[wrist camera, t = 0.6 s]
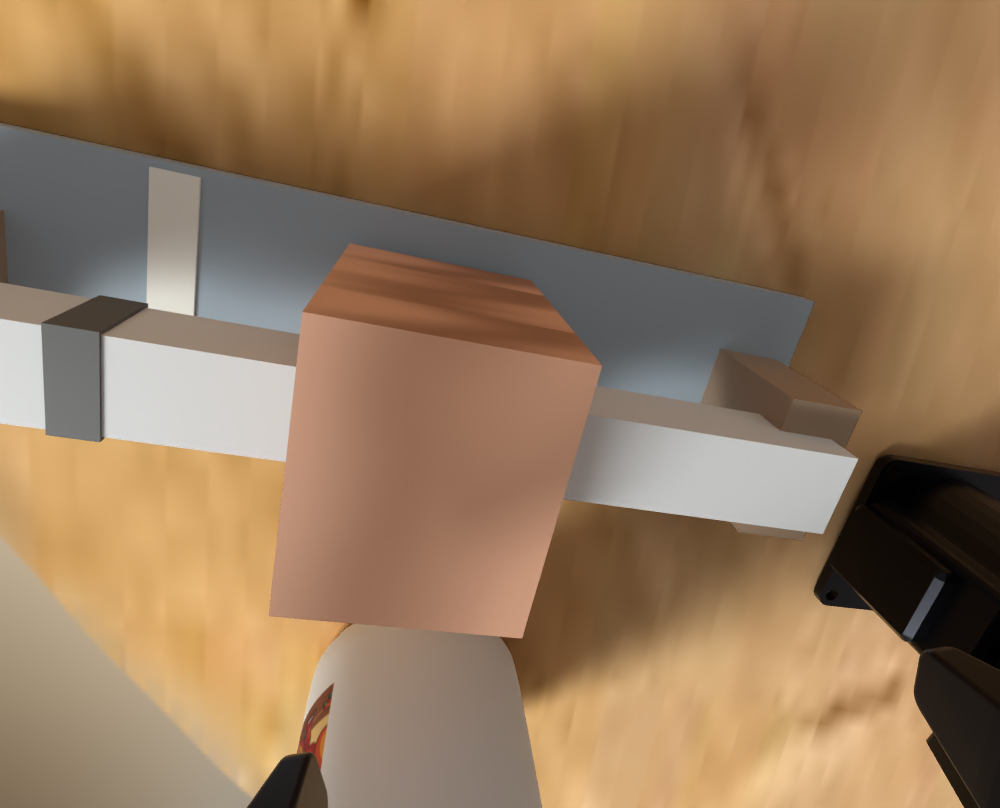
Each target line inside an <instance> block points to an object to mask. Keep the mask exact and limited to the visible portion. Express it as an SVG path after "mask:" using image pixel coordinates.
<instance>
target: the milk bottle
mask: <svg viewBox="0 0 1000 808" xmlns="http://www.w3.org/2000/svg"><path fill="white" fill-rule="evenodd" d="M303 752H312V753H313V754H314V755H315V757H316V759H317V762H318V765H319V768H320V771H321V774H322V777H323V780H324V783H325V786H326V790H327V795H328V808H542V804H541V798H540V793H539V788H538V782H537V777H536V771H535V766H534V761H533V755H532V750H531V744H530V739H529V734H528V728H527V723H526V718H525V712H524V707H523V702H522V697H521V691H520V686H519V682H518V678H517V673H516V669H515V665H514V661H513V658H512V655H511V653H510V651H509V649H508V648H507V646H506V644H505V643H504V642H503V640H502V639H501V638H500V637H499V636H488V635H476V634H465V633H454V632H442V631H431V630H420V629H408V628H397V627H386V626H375V625H363V624H352V625H350V626H349V627H347V628H346V629H344V630H343V631H342V633H341V634H340V635H339V636H338V637H337V638H336V639H335V640H334V641H333V642H332V643H331V644H330V645H329V647H328V648H327V649H326V650H325V652H324V653H323V655H322V656H321V658H320V660H319V662H318V664H317V667H316V669H315V673H314V677H313V681H312V685H311V689H310V693H309V697H308V701H307V706H306V711H305V716H304V721H303V726H302V731H301V736H300V741H299V746H298V751H297V753H303Z"/></svg>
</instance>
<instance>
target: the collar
mask: <svg viewBox="0 0 1000 808" xmlns="http://www.w3.org/2000/svg"><path fill="white" fill-rule="evenodd" d="M601 369H602V365H601V364H600V362H599V361H598V360H597V359H596V358H595V356H594V355H593V354H592V353H591V352H590V350H589V349H588V348H587V347H586V346H585V344H584V343H583V342H582V341H581V340H580V338H579V337H578V336H577V335H576V334H575V332H574V331H573V330H572V329H571V328H570V326H569V325H568V324H567V323H566V322H565V320H564V319H563V318H562V317H561V316H560V314H559V313H558V312H557V311H556V310H555V308H554V307H553V306H552V305H551V304H550V302H549V301H548V300H547V299H546V298H545V296H544V295H543V294H542V293H541V291H540V290H539V289H538V288H537V287H536V285H535V284H534V283H533V282H532V281H531V280H528V279H523V278H518V277H514V276H509V275H504V274H499V273H494V272H489V271H484V270H479V269H474V268H469V267H464V266H459V265H455V264H450V263H445V262H440V261H435V260H430V259H425V258H420V257H415V256H410V255H405V254H400V253H396V252H391V251H386V250H381V249H376V248H371V247H366V246H361V245H356V244H351V243H350V244H349V245H348V247H347V248H346V250H345V251H344V252H343V254H342V255H341V257H340V258H339V260H338V261H337V262H336V264H335V265H334V267H333V268H332V270H331V271H330V273H329V274H328V275H327V277H326V278H325V280H324V281H323V283H322V284H321V286H320V287H319V288H318V290H317V291H316V293H315V294H314V296H313V297H312V298H311V300H310V301H309V303H308V304H307V306H306V307H305V309H304V310H303V311H302V319H301V328H300V337H299V346H298V355H297V364H296V373H295V382H294V391H293V400H292V409H291V418H290V428H289V437H288V446H287V455H286V464H285V473H284V482H283V491H282V500H281V509H280V518H279V527H278V536H277V545H276V554H275V563H274V573H273V582H272V591H271V600H270V609H269V616H273V617H284V618H295V619H307V620H318V621H329V622H341V623H352V624H363V625H375V626H386V627H397V628H408V629H420V630H431V631H442V632H454V633H465V634H476V635H488V636H499V637H510V638H522V637H523V634H524V630H525V627H526V624H527V620H528V617H529V613H530V610H531V607H532V603H533V600H534V596H535V593H536V590H537V586H538V583H539V579H540V576H541V573H542V569H543V566H544V562H545V559H546V556H547V552H548V549H549V545H550V542H551V539H552V535H553V532H554V528H555V525H556V522H557V518H558V515H559V511H560V508H561V505H562V501H563V498H564V494H565V491H566V488H567V484H568V481H569V477H570V474H571V471H572V467H573V464H574V460H575V457H576V454H577V450H578V447H579V443H580V440H581V437H582V433H583V430H584V426H585V423H586V420H587V416H588V413H589V409H590V406H591V403H592V399H593V396H594V392H595V389H596V386H597V382H598V379H599V375H600V372H601Z"/></svg>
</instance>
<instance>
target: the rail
mask: <svg viewBox="0 0 1000 808" xmlns="http://www.w3.org/2000/svg"><path fill="white" fill-rule="evenodd" d="M350 243H351V244H356V245H361V246H366V247H371V248H376V249H381V250H386V251H391V252H396V253H400V254H405V255H410V256H415V257H420V258H425V259H430V260H435V261H440V262H445V263H450V264H455V265H459V266H464V267H469V268H474V269H479V270H484V271H489V272H494V273H499V274H504V275H509V276H514V277H518V278H523V279H528V280H531V281H532V282H533V283H534V284H535V285H536V287H537V288H538V289H539V290H540V291H541V293H542V294H543V295H544V296H545V298H546V299H547V300H548V301H549V302H550V304H551V305H552V306H553V307H554V308H555V310H556V311H557V312H558V313H559V314H560V316H561V317H562V318H563V319H564V320H565V322H566V323H567V324H568V325H569V326H570V328H571V329H572V330H573V331H574V332H575V334H576V335H577V336H578V337H579V338H580V340H581V341H582V342H583V343H584V344H585V346H586V347H587V348H588V349H589V350H590V352H591V353H592V354H593V355H594V356H595V358H596V359H597V360H598V361H599V362H600V364H601V365H602V369H601V372H600V375H599V379H598V382H597V386H596V389H595V392H594V396H593V399H592V403H591V406H590V409H589V413H588V416H587V420H586V423H585V426H584V430H583V433H582V437H581V440H580V443H579V447H578V450H577V454H576V457H575V460H574V464H573V467H572V471H571V474H570V477H569V481H568V484H567V488H566V491H565V494H564V498H563V499H566V500H573V501H581V502H588V503H595V504H603V505H610V506H618V507H625V508H633V509H640V510H647V511H655V512H662V513H670V514H677V515H685V516H692V517H699V518H707V519H714V520H722V521H729V522H730V523H731V524H732V525H733V527H734V528H735V529H736V530H737V531H738V532H740V533H747V534H755V535H763V536H770V537H778V538H786V539H793V540H801V541H802V540H803V538H804V536H805V534H806V532H811V533H818V534H823V533H824V530H825V528H826V526H827V524H828V522H829V520H830V518H831V516H832V514H833V511H834V509H835V507H836V505H837V503H838V501H839V499H840V497H841V495H842V493H843V490H844V488H845V486H846V484H847V482H848V480H849V478H850V476H851V474H852V471H853V469H854V467H855V465H856V463H857V461H858V458H857V457H855V456H854V455H852V454H851V453H850V452H848V451H847V450H845V447H846V445H847V443H848V441H849V438H850V436H851V434H852V432H853V430H854V428H855V426H856V423H857V421H858V419H859V417H860V415H861V413H862V411H861V410H860V409H858V408H856V407H855V406H853V405H851V404H850V403H848V402H846V401H845V400H843V399H841V398H840V397H838V396H836V395H835V394H833V393H831V392H830V391H828V390H826V389H825V388H823V387H821V386H820V385H818V384H816V383H815V382H813V381H811V380H810V379H808V378H806V377H805V376H803V375H801V374H800V373H798V372H796V371H795V370H793V369H791V368H790V367H789V364H790V362H791V359H792V357H793V354H794V352H795V349H796V347H797V344H798V342H799V340H800V337H801V335H802V332H803V330H804V327H805V325H806V322H807V320H808V317H809V315H810V312H811V310H812V308H813V305H814V303H815V302H814V301H811V300H809V299H806V298H804V297H801V296H797V295H793V294H788V293H783V292H779V291H774V290H770V289H765V288H760V287H756V286H751V285H747V284H742V283H737V282H733V281H728V280H724V279H719V278H714V277H710V276H705V275H701V274H696V273H691V272H687V271H682V270H677V269H673V268H668V267H664V266H659V265H654V264H650V263H645V262H641V261H636V260H631V259H627V258H622V257H618V256H613V255H608V254H604V253H599V252H595V251H590V250H585V249H581V248H576V247H571V246H567V245H562V244H558V243H553V242H548V241H544V240H539V239H535V238H530V237H525V236H521V235H516V234H512V233H507V232H502V231H498V230H493V229H489V228H484V227H479V226H475V225H470V224H465V223H461V222H456V221H452V220H447V219H442V218H438V217H433V216H429V215H424V214H419V213H415V212H410V211H406V210H401V209H396V208H392V207H387V206H383V205H378V204H373V203H369V202H364V201H359V200H355V199H350V198H346V197H341V196H336V195H332V194H327V193H323V192H318V191H313V190H309V189H304V188H300V187H295V186H290V185H286V184H281V183H277V182H272V181H267V180H263V179H258V178H253V177H249V176H244V175H240V174H235V173H230V172H226V171H221V170H217V169H212V168H207V167H203V166H198V165H194V164H189V163H184V162H180V161H175V160H170V159H166V158H161V157H157V156H152V155H147V154H143V153H138V152H134V151H129V150H124V149H120V148H115V147H111V146H106V145H101V144H97V143H92V142H88V141H83V140H78V139H74V138H69V137H64V136H60V135H55V134H51V133H46V132H41V131H37V130H32V129H28V128H23V127H18V126H14V125H9V124H5V123H0V423H1V424H9V425H16V426H23V427H31V428H38V429H46V435H50V436H57V437H65V438H72V439H80V440H87V441H95V442H101V441H102V440H103V439H104V438H113V439H120V440H127V441H135V442H142V443H150V444H157V445H165V446H172V447H179V448H187V449H194V450H202V451H209V452H217V453H224V454H231V455H239V456H246V457H254V458H261V459H269V460H276V461H283V462H286V455H287V446H288V437H289V428H290V418H291V409H292V400H293V391H294V382H295V373H296V364H297V355H298V346H299V337H300V328H301V319H302V311H303V310H304V309H305V307H306V306H307V304H308V303H309V301H310V300H311V298H312V297H313V296H314V294H315V293H316V291H317V290H318V288H319V287H320V286H321V284H322V283H323V281H324V280H325V278H326V277H327V275H328V274H329V273H330V271H331V270H332V268H333V267H334V265H335V264H336V262H337V261H338V260H339V258H340V257H341V255H342V254H343V252H344V251H345V250H346V248H347V247H348V245H349V244H350Z"/></svg>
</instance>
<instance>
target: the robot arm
mask: <svg viewBox="0 0 1000 808" xmlns="http://www.w3.org/2000/svg"><path fill="white" fill-rule="evenodd" d="M891 467H892V468H891ZM890 468H891V470H890V471H888V470H889V469H890ZM887 471H888V472H887ZM829 591H830V592H829ZM814 595H815V596H816V597H817V598H818V599H819V600H820V602H821V603H822V604H824V605H828V606H837V607H846V608H855V609H864V610H873V611H874V612H875V613H876V614H877V615H878V616H879V617H880V618H881V619H882V620H883V621H884V622H885V623H886V624H887V625H888V626H889V627H890V628H891V629H892V630H893V631H894V632H895V633H896V634H897V635H898V636H899V637H900V638H901V639H902V640H904V641H905V642H908V643H909V644H910V645H911V646H912V647H913V648H914V649H915V650H916V651H917V652H918V653H919V654H920V657H919V663H918V668H917V674H916V679H915V685H914V697H915V701H916V703H917V706H918V708H919V710H920V711H921V713H922V715H923V716H924V718H925V720H926V721H927V723H928V724H929V726H930V728H931V729H932V731H933V733H932V734H931V735H930V736H929V737H928V739H927V740H926V741H927V744H928V745H929V747H930V749H931V751H932V752H933V754H934V756H935V758H936V759H937V761H938V763H939V765H940V766H941V768H942V770H943V772H944V773H945V775H946V777H947V779H948V780H949V782H950V784H951V786H952V787H953V789H954V791H955V792H956V794H957V796H958V798H959V799H960V801H961V803H962V805H963V806H964V808H1000V473H998V472H992V471H986V470H980V469H974V468H968V467H962V466H956V465H950V464H944V463H938V462H932V461H926V460H920V459H914V458H908V457H902V456H896V455H886V456H883V457H881V458H880V459H879V460H877V462H876V463H875V465H874V467H873V469H872V471H871V473H870V475H869V477H868V479H867V481H866V483H865V485H864V487H863V489H862V491H861V493H860V495H859V497H858V499H857V501H856V503H855V506H854V508H853V510H852V512H851V514H850V516H849V518H848V520H847V522H846V524H845V526H844V528H843V530H842V532H841V534H840V536H839V538H838V540H837V543H836V545H835V547H834V549H833V551H832V553H831V555H830V557H829V559H828V561H827V563H826V565H825V567H824V569H823V571H822V573H821V575H820V577H819V580H818V582H817V584H816V586H815V588H814ZM247 808H328V795H327V790H326V786H325V783H324V780H323V777H322V774H321V771H320V768H319V765H318V762H317V759H316V757H315V755H314V754H313V753H312V752H303V753H297V754H291V755H287V756H285V757H284V758H283V759H281V760H280V762H279V763H278V764H277V766H276V767H275V769H274V770H273V772H272V773H271V774H270V776H269V777H268V779H267V780H266V781H265V783H264V784H263V786H262V787H261V788H260V790H259V791H258V793H257V794H256V796H255V797H254V798H253V800H252V801H251V803H250V804H249V805H248V807H247Z"/></svg>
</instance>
